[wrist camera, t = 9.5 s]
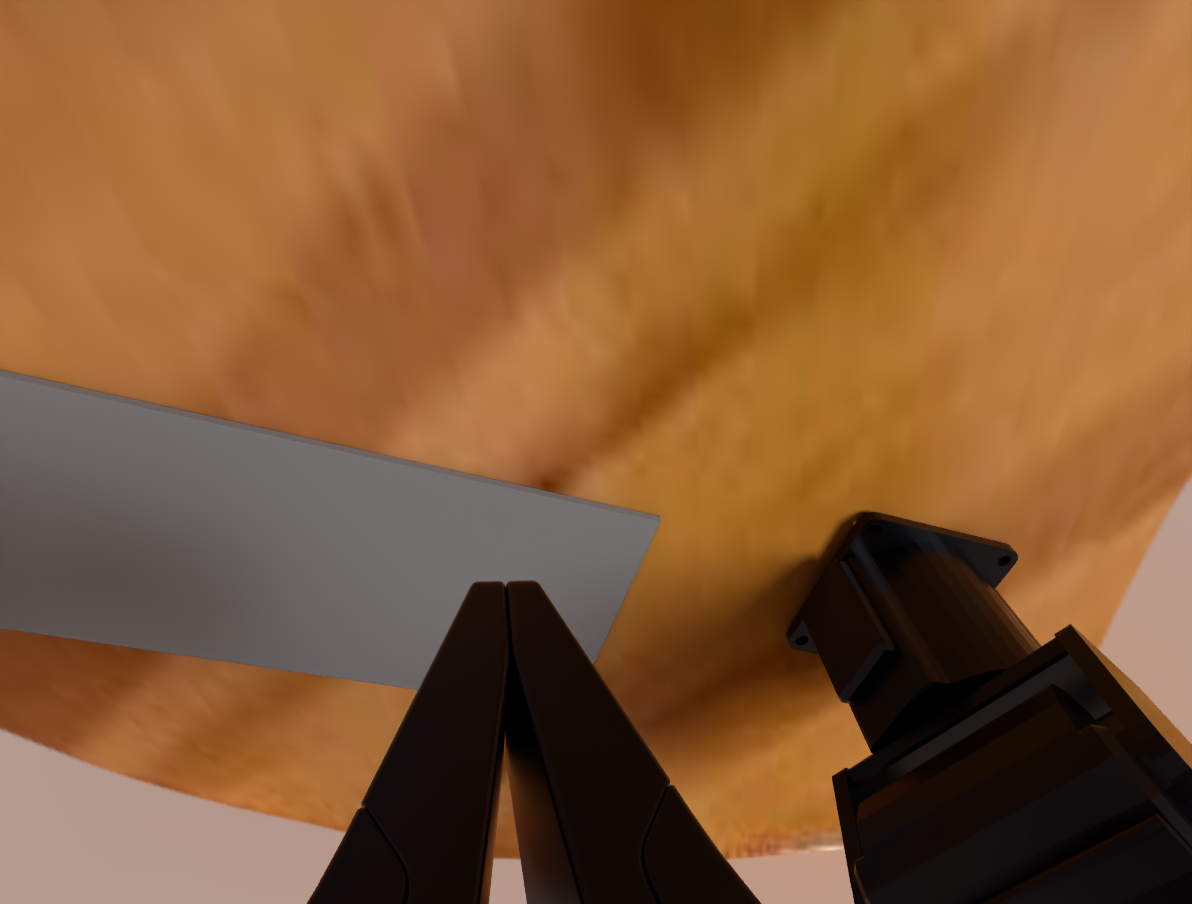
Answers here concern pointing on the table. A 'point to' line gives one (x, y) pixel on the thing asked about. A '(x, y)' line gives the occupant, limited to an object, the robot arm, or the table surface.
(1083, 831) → the robot arm
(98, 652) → the table surface
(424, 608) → the mat
